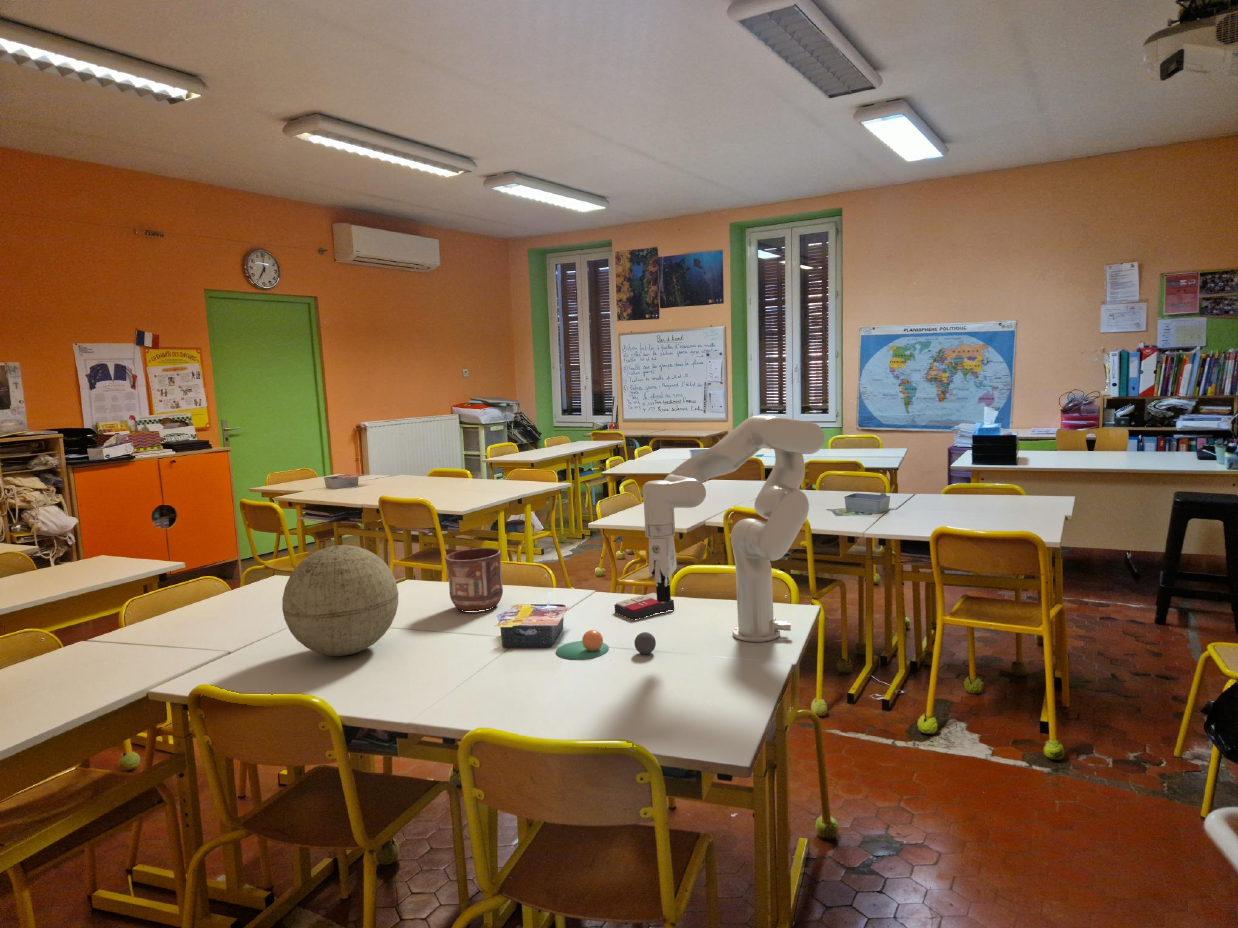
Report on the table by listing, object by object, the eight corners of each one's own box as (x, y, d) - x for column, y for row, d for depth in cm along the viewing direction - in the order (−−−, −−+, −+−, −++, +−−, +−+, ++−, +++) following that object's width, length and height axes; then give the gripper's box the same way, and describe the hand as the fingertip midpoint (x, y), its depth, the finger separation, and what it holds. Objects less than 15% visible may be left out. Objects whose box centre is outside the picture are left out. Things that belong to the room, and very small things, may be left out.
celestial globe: (269, 657, 208) (257, 551, 205) (369, 628, 230) (360, 531, 227) (319, 682, 188) (307, 564, 185) (423, 647, 210) (414, 541, 206)
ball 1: (584, 627, 202) (587, 647, 202) (577, 634, 196) (580, 654, 197) (604, 626, 200) (607, 646, 200) (597, 633, 195) (600, 653, 195)
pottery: (453, 602, 254) (448, 550, 252) (505, 597, 255) (501, 545, 253) (447, 618, 236) (442, 562, 234) (503, 613, 238) (499, 557, 236)
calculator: (613, 602, 231) (653, 590, 239) (614, 615, 232) (654, 603, 239) (632, 610, 222) (674, 597, 229) (634, 624, 222) (675, 611, 230)
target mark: (615, 642, 204) (615, 641, 204) (598, 661, 191) (598, 660, 191) (567, 640, 208) (567, 639, 208) (547, 658, 195) (547, 657, 195)
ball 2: (640, 626, 197) (635, 645, 198) (634, 633, 192) (629, 653, 193) (660, 632, 196) (655, 652, 196) (654, 639, 190) (650, 659, 191)
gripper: (667, 535, 181) (671, 610, 183) (681, 524, 195) (684, 593, 197) (637, 535, 183) (641, 609, 185) (653, 524, 198) (656, 592, 199)
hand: (663, 600), depth 191 cm, fingers closed
